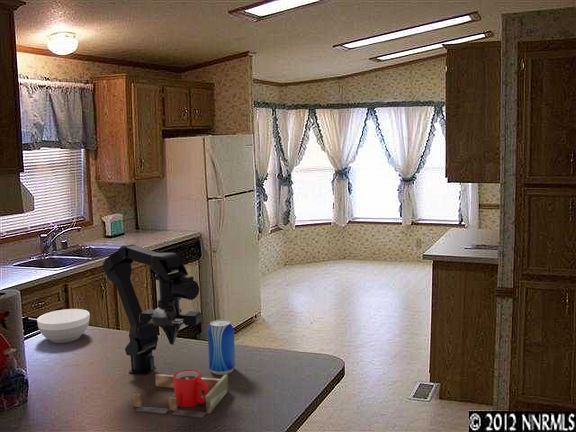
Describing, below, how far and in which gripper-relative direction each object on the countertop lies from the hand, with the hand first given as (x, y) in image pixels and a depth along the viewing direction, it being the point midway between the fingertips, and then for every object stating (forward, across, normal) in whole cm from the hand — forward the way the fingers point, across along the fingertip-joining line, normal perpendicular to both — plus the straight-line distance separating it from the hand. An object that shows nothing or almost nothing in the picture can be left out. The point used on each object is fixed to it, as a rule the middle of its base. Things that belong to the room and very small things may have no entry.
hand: (172, 344), depth 185 cm
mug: (+12, +12, -12) cm, 21 cm away
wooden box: (+12, +7, -12) cm, 19 cm away
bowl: (+12, -59, +30) cm, 67 cm away
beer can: (+12, +12, +11) cm, 20 cm away
